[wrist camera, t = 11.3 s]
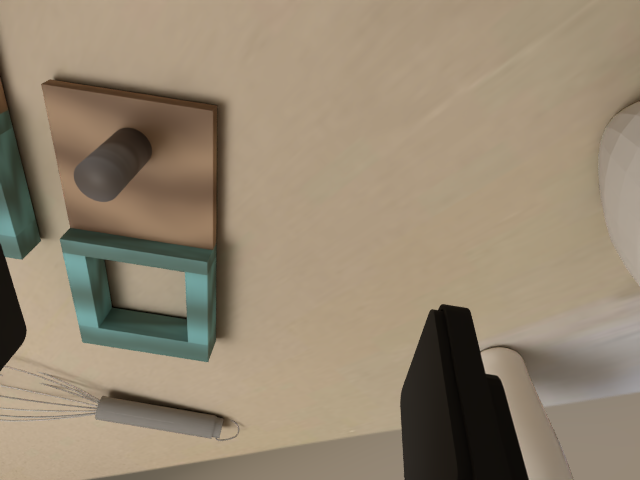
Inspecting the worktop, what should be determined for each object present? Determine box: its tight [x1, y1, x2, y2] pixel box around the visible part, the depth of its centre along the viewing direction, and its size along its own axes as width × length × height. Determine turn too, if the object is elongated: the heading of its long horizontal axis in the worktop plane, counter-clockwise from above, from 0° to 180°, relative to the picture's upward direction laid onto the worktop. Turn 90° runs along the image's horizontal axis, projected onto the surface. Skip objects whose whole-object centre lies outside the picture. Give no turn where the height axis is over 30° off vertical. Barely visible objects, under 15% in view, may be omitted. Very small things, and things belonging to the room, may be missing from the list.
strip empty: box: [41, 80, 217, 362], centre depth 42 cm, size 26×13×7 cm, turn 173°
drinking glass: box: [480, 347, 574, 480], centre depth 44 cm, size 7×7×15 cm
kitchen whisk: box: [0, 366, 239, 441], centre depth 57 cm, size 6×34×6 cm, turn 76°
